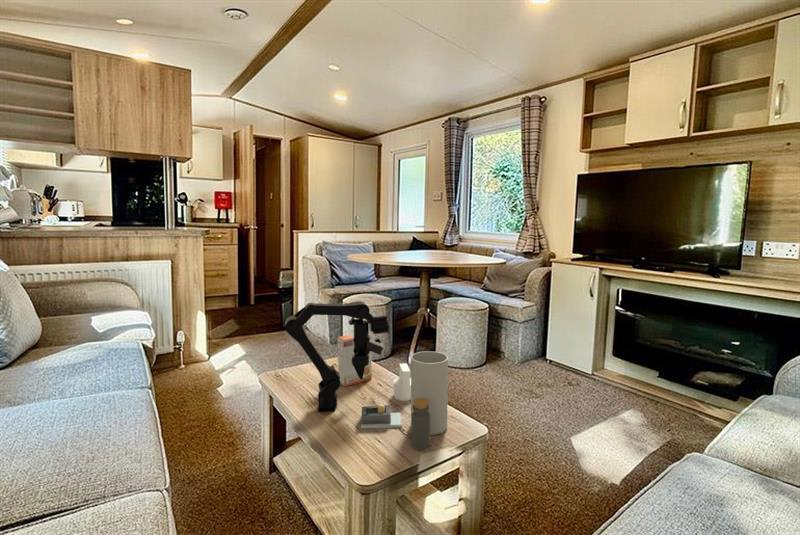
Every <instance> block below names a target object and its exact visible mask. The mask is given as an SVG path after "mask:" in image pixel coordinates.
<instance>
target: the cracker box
mask: <svg viewBox="0 0 800 535" xmlns="http://www.w3.org/2000/svg"><path fill="white" fill-rule="evenodd" d="M369 337H370V340H372V334H371V333H369ZM353 339H354V333H353V334H347V335H342V336H337V339H336V340H337V362H338V363H337V364H338V365H337V366H338V370H337V371H338V372H339V375H340V382H341V384H340V386H341V385H342V386H343V387H346V388H347V387H348V386H349V387H350V386H353V385H356V384H360V383H363V382H367V381H370V380H372V379H373V374H372V372H373V370H372V368H373V367H372V363H373V362H372V352H371V351H370V353H369V354H368V355H369V364H368V365H367V366H365V369H364V374H363V379H359V377H358V374H357V372H356V370H355V368H354V366H353V365H352V356H353V355H354V354H355V353H354V352H353V350H354V342H353Z"/></svg>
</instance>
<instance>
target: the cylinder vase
mask: <svg viewBox="0 0 800 535" xmlns="http://www.w3.org/2000/svg"><path fill="white" fill-rule="evenodd" d="M448 371H449V357H448V355H447V354H445V353H443V352H439V351H431V350H430V351H429V350H427V351H426V350H425V351H418V352H415V353H413V354H412V355H411V356H410V378H411V400H410V419H411V418H412V412H414V410H413V405H414V402H413V400H414V399H416V398H425V399H427V400H428V406H429V410H428V411H427V412H429V414H430V436H434V435H439V434H442V433H444V432H445V431H446V429H447V428H448V391H449V390H448V388H449V387H448V386H449V384H448V381H449V379H448V378H449V376H448V375H449V372H448Z"/></svg>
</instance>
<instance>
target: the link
mask: <svg viewBox="0 0 800 535" xmlns="http://www.w3.org/2000/svg"><path fill="white" fill-rule="evenodd" d="M384 405H385V413H378V405H369V406H367V405H366V406H361V419H362V424H377V423H391V415H390V413H391V407H390V404H384Z"/></svg>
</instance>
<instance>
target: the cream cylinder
mask: <svg viewBox="0 0 800 535" xmlns="http://www.w3.org/2000/svg"><path fill="white" fill-rule="evenodd" d="M398 372H399V377H398V378H395V379H394V380H393V398H394V399H396V400H399V401H403V402H404V401H405V402H406V401H411V368H409V366H408V364H407V363H405V362H404V363H399V371H398Z"/></svg>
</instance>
